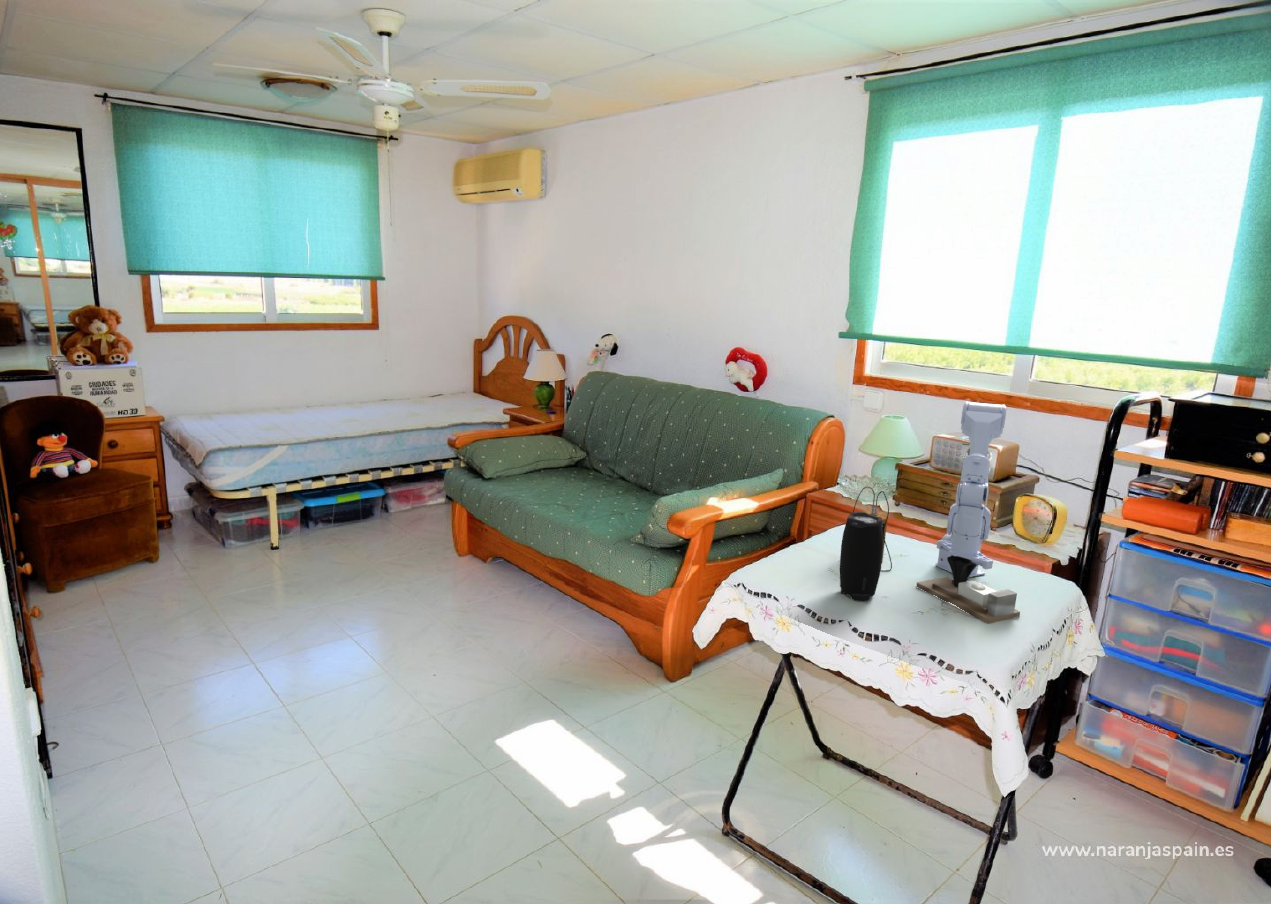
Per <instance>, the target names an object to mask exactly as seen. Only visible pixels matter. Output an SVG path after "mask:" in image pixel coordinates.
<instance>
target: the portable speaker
mask: <svg viewBox="0 0 1271 904" xmlns="http://www.w3.org/2000/svg"><path fill="white" fill-rule="evenodd" d="M882 524H883V522H882V517H876V516H873V515H870V514H867V513H865V512H864V511H854V512H853V511H852V512H851V513H849V515H848V516H847V519H846V522H845V526H844V529H843V533H842V538H841V545H840V558H839V561H840V562H839V587H840V594H842V595H844V594H845V595H848V597H849V596H850V598H851V600H852V601H855V602H868V601H870V600H871V597H873V596H874V595H875V594H876V591H877V589H878V588H877V587H878V583H879V581H880V580H879V579H880V576H881V572H882V571H881V570H882V564H883V561H882V552H883V530H882Z"/></svg>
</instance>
